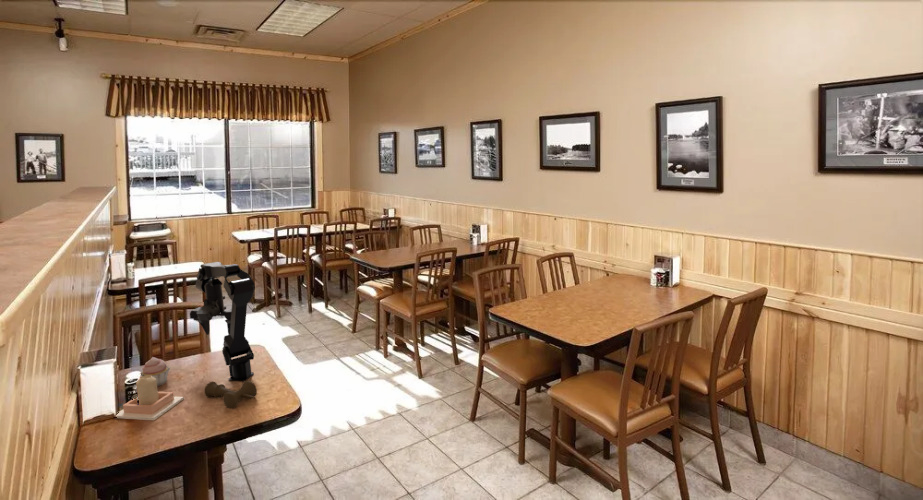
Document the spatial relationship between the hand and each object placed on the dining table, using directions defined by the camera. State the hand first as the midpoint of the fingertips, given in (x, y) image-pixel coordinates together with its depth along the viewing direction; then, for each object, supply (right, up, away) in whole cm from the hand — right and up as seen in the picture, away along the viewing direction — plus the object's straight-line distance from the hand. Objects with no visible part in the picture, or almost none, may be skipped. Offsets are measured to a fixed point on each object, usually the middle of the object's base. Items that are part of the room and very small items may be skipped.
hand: (218, 334), depth 202 cm
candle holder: (-8, -19, -31) cm, 37 cm away
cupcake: (-16, -15, -13) cm, 26 cm away
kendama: (+17, -18, -27) cm, 36 cm away
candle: (-8, -18, -31) cm, 37 cm away
